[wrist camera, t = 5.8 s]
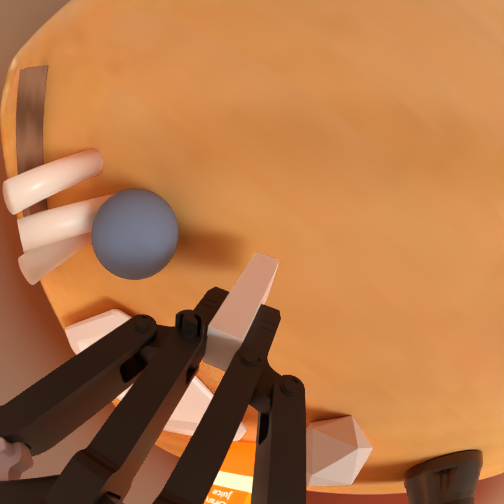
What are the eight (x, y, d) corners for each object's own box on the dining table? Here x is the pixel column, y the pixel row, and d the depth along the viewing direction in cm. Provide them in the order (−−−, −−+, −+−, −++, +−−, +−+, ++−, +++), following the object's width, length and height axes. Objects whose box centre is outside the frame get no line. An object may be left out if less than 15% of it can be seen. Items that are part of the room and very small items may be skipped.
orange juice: (286, 461, 36) (248, 559, 19) (241, 457, 40) (201, 544, 23) (266, 443, 33) (219, 556, 17) (219, 438, 37) (170, 535, 21)
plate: (65, 323, 37) (57, 330, 35) (143, 290, 25) (130, 304, 23) (155, 419, 44) (150, 428, 42) (265, 431, 32) (260, 444, 30)
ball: (88, 260, 19) (153, 236, 22) (119, 312, 16) (194, 277, 19) (76, 188, 15) (152, 169, 19) (103, 229, 12) (199, 200, 16)
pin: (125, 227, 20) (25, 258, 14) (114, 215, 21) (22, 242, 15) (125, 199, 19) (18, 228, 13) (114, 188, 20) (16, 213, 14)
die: (304, 395, 26) (259, 467, 23) (374, 426, 19) (319, 509, 16) (335, 407, 30) (299, 468, 27) (393, 430, 23) (351, 497, 20)
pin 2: (105, 239, 23) (37, 289, 16) (88, 232, 23) (22, 277, 16) (103, 216, 22) (29, 264, 15) (86, 209, 22) (15, 252, 15)
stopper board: (57, 266, 29) (43, 276, 27) (49, 261, 29) (35, 270, 27) (48, 65, 16) (28, 67, 14) (39, 67, 16) (20, 70, 14)
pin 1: (103, 178, 20) (19, 218, 13) (85, 172, 20) (5, 209, 13) (103, 150, 19) (13, 183, 11) (85, 146, 19) (1, 177, 12)
